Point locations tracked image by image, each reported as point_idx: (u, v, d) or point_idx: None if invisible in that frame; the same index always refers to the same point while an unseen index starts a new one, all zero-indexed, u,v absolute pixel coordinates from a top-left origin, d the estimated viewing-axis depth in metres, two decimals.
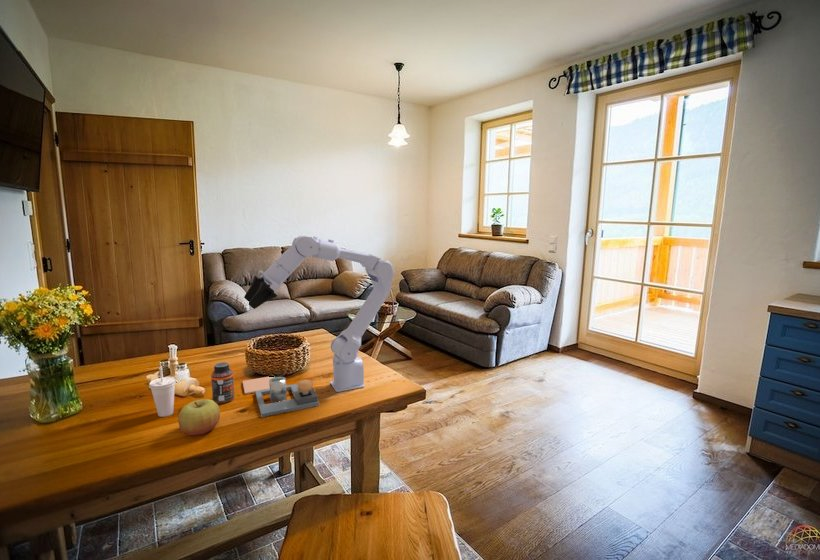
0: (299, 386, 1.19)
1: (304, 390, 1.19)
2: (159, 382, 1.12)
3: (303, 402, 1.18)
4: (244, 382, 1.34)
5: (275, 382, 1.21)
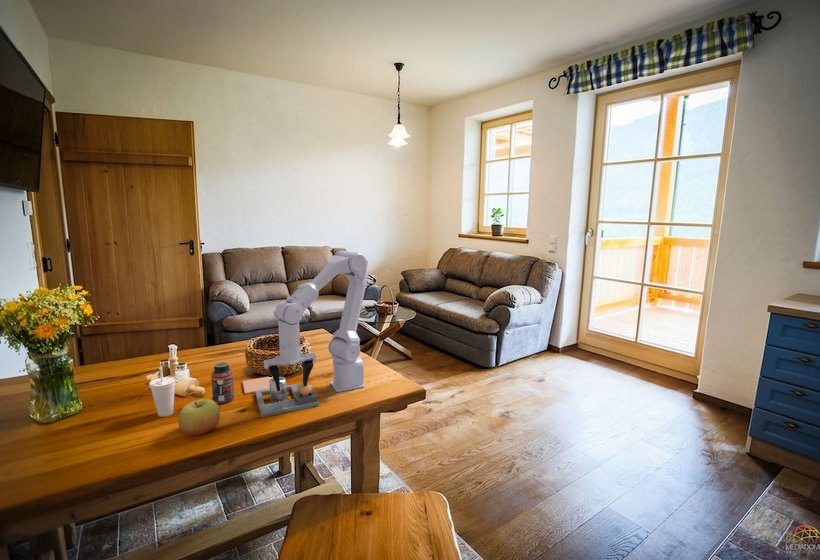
0: (299, 389, 1.19)
1: (304, 392, 1.19)
2: (159, 382, 1.12)
3: (303, 402, 1.18)
4: (244, 382, 1.34)
5: None
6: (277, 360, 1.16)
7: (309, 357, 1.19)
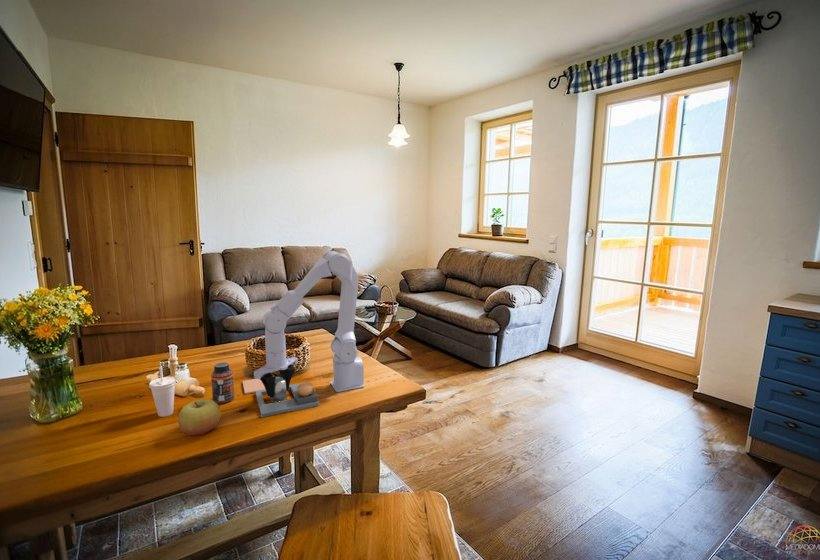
0: (299, 390, 1.19)
1: (304, 394, 1.19)
2: (159, 382, 1.12)
3: (303, 402, 1.18)
4: (244, 382, 1.34)
5: (275, 382, 1.21)
6: (266, 369, 1.19)
7: (293, 361, 1.26)
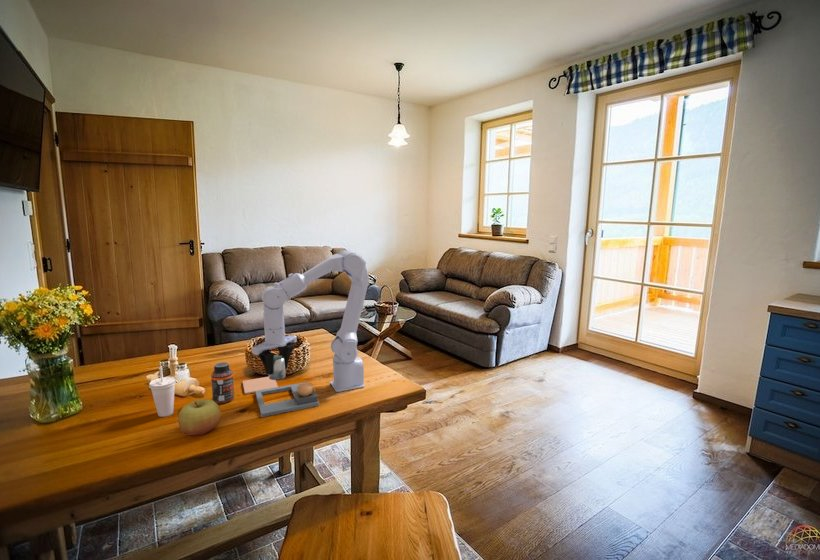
0: (299, 390, 1.19)
1: (304, 394, 1.19)
2: (159, 382, 1.12)
3: (303, 402, 1.18)
4: (244, 382, 1.34)
5: (274, 360, 1.20)
6: (265, 345, 1.18)
7: (292, 338, 1.25)
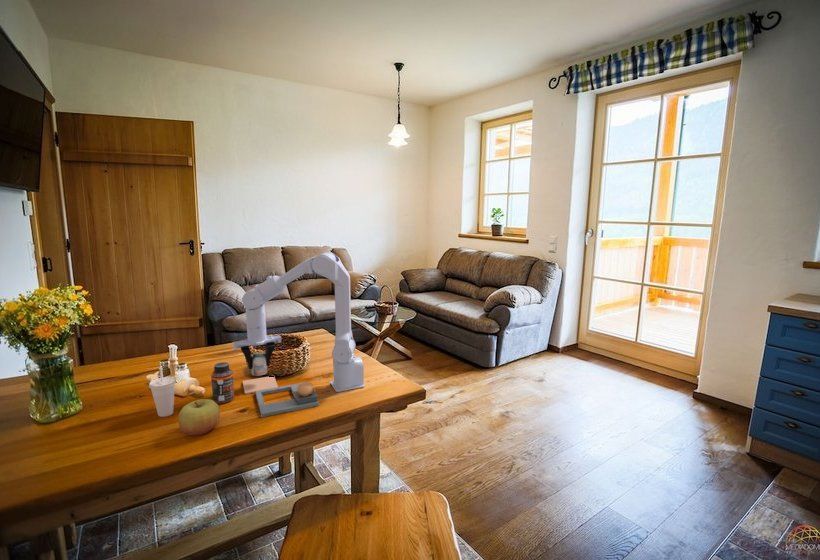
0: (299, 390, 1.19)
1: (304, 394, 1.19)
2: (159, 382, 1.12)
3: (303, 402, 1.18)
4: (244, 382, 1.34)
5: (254, 357, 1.29)
6: (245, 342, 1.28)
7: (274, 339, 1.32)
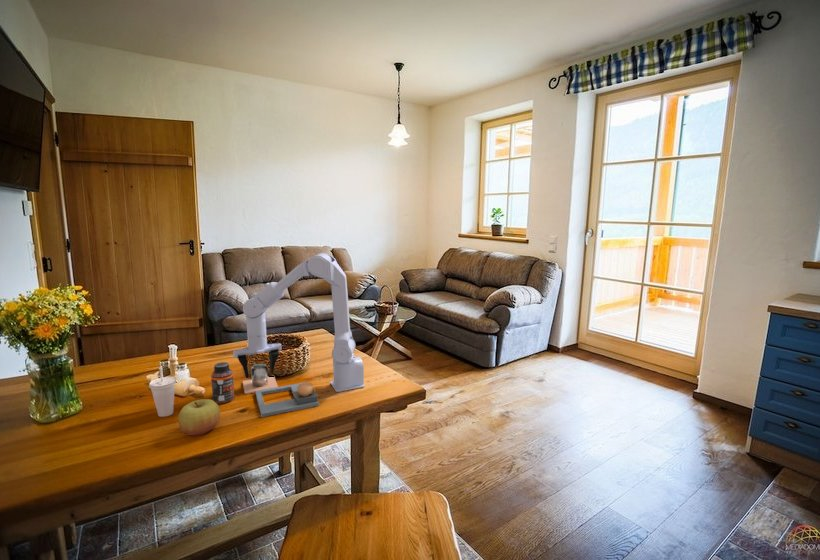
0: (299, 390, 1.19)
1: (304, 394, 1.19)
2: (159, 382, 1.12)
3: (303, 402, 1.18)
4: (244, 382, 1.34)
5: (254, 368, 1.30)
6: (245, 350, 1.29)
7: (275, 347, 1.32)
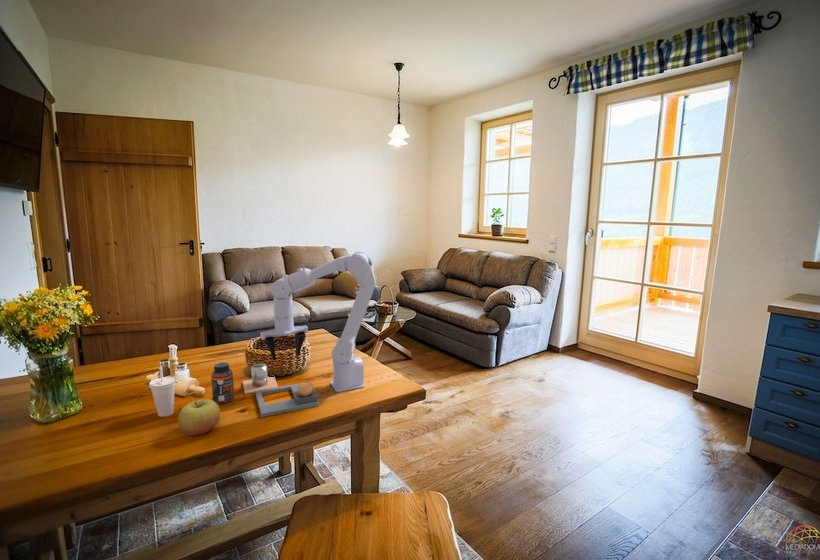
0: (299, 390, 1.19)
1: (304, 394, 1.19)
2: (159, 382, 1.12)
3: (303, 402, 1.18)
4: (244, 382, 1.34)
5: (254, 368, 1.30)
6: (272, 332, 1.28)
7: (301, 329, 1.31)
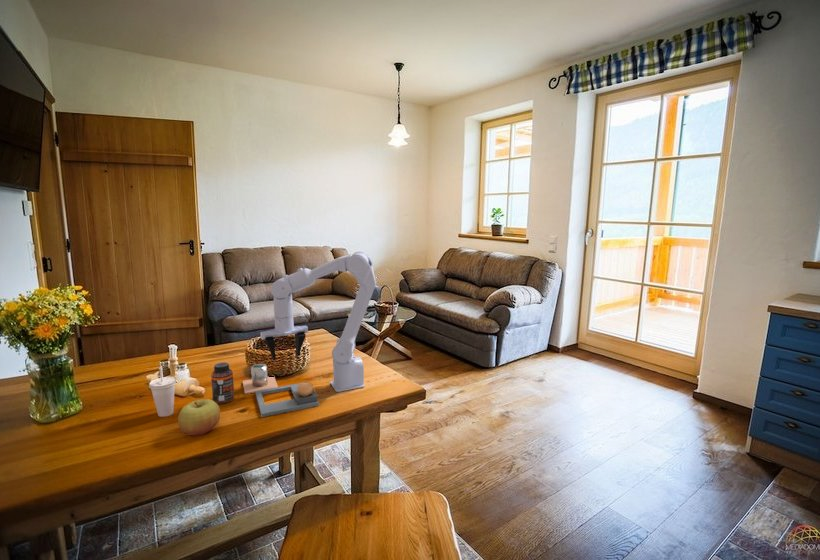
0: (299, 390, 1.19)
1: (304, 394, 1.19)
2: (159, 382, 1.12)
3: (303, 402, 1.18)
4: (244, 382, 1.34)
5: (254, 368, 1.30)
6: (272, 332, 1.28)
7: (301, 329, 1.31)
